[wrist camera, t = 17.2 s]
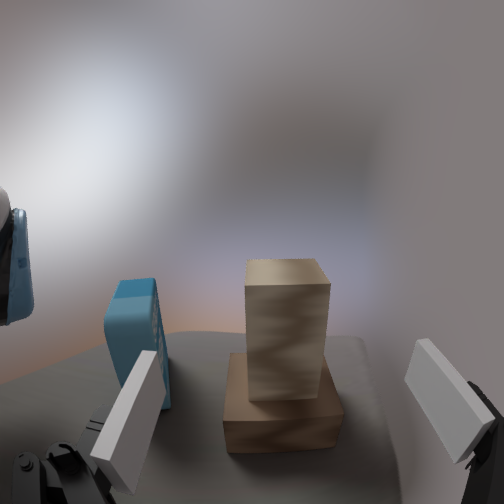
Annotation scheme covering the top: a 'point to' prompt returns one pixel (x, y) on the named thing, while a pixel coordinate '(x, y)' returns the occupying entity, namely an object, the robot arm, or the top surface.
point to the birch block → (285, 328)
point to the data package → (136, 329)
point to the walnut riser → (279, 416)
